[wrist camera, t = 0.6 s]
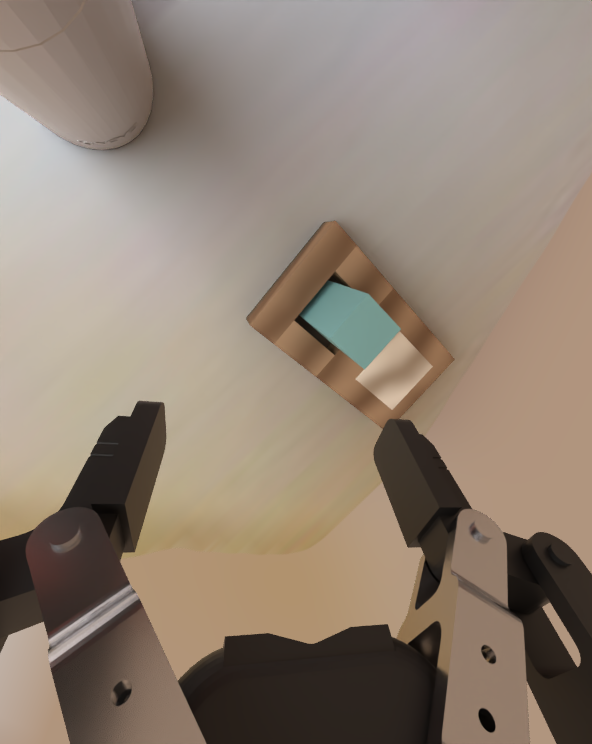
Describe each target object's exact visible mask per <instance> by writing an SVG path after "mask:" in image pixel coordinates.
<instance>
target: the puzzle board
mask: <svg viewBox="0 0 592 744" xmlns="http://www.w3.org/2000/svg"><path fill="white" fill-rule="evenodd" d="M328 280H329V281H332V282H335V283H338V284H341V285H343V286H346V287H349V288H352V289H355V290H358V291H361V292H364V293H367V294H369V295H370V296H371V297H372V298H373V299H374V300H375V301H376V302H377V304H378V305H379V306H380V307H381V308H382V309H383V310H384V311H385V312H386V313H387V314H388V315H389V316H390V318H391V319H392V320H393V321H394V322H395V323H396V324H397V325H398V326H399V327H400V328H401V330H400V331H399V332H398V333H397V334H396V335H395V337H394V338H393V339H392V340H391V341H390V342H389V343H388V344H387V345H386V347H385V348H384V349H383V350H382V351H381V352H380V353H379V354H378V355H377V357H376V358H375V359H374V360H373V361H372V362H371V363H370V364H369V366H368V367H367V368H366V369H365V370H364V369H363V368H362V367H361V366H359V365H358V364H357V363H356V362H354V361H353V360H352V359H351V358H349V357H348V356H347V355H346V354H344V353H343V352H342V351H341V350H339V349H338V348H337V347H336V346H334V345H333V344H332V343H331V342H329V341H328V340H327V339H326V338H325V337H323V336H322V335H321V334H320V333H319V332H318V331H317V330H316V329H314V328H313V327H312V326H311V325H310V324H309V323H308V322H306V321H305V320H304V319H303V318H302V317H301V316H300V315H299V314H300V313H301V312H302V310H303V309H304V308H305V307H306V306H307V304H308V303H309V302H310V301H311V300H312V298H313V297H314V296H315V295H316V294H317V292H318V291H319V290H320V289H321V288H322V287H323V285H324V284H325V283H326V282H327V281H328ZM246 319H247V321H248V322H249V324H250V326H252V327H253V328H254V329H255V330H257V331H258V332H259V333H261V334H262V335H263V336H264V337H266V338H267V339H268V340H270V341H271V342H272V343H273V344H275V345H276V346H277V347H279V348H280V349H281V350H282V351H284V352H285V353H286V354H288V355H289V356H290V357H291V358H293V359H294V360H295V361H296V362H298V363H299V364H300V365H302V366H303V367H304V368H305V369H307V370H308V371H309V372H311V373H312V374H313V375H314V376H316V377H317V378H318V379H320V380H321V381H322V382H323V383H325V384H326V385H327V386H329V387H330V388H331V389H332V390H334V391H335V392H336V393H338V394H339V395H340V396H341V397H343V398H344V399H345V400H347V401H348V402H349V403H350V404H352V405H353V406H354V407H356V408H357V409H358V410H359V411H361V412H362V413H363V414H365V415H366V416H367V417H368V418H370V419H371V420H372V421H374V422H375V423H376V424H377V425H379V426H380V427H381V428H384V426H385V424H386V422H387V421H388V420H389V419H399V418H400V417H401V416H402V415H403V414H404V413H405V412H406V411H407V410H408V409H409V407H410V406H411V405H412V404H413V403H414V402H415V401H416V400H417V399H418V398H419V397H420V396H421V395H422V394H423V393H424V392H425V390H426V389H427V388H428V387H429V386H430V385H431V384H432V383H433V382H434V381H435V380H436V379H437V378H438V377H439V376H440V375H441V373H442V372H443V371H444V370H445V369H446V368H447V367H448V366H449V365H450V364H451V363H452V362H453V361H454V360H455V359H454V358H453V357H452V356H451V354H450V353H449V352H448V351H447V350H446V349H445V347H444V346H443V345H442V344H441V343H440V342H439V340H438V339H437V338H436V337H435V336H434V335H433V333H432V332H431V331H430V330H429V329H428V328H427V327H426V325H425V324H424V323H423V322H422V321H421V320H420V318H419V317H418V316H417V315H416V314H415V313H414V311H413V310H412V309H411V308H410V307H409V306H408V304H407V303H406V302H405V301H404V300H403V299H402V297H401V296H400V295H399V294H398V293H397V292H396V290H395V289H394V288H393V287H392V286H391V285H390V284H389V282H388V281H387V280H386V279H385V278H384V277H383V275H382V274H381V273H380V272H379V271H378V270H377V268H376V267H375V266H374V265H373V264H372V263H371V261H370V260H369V259H368V258H367V257H366V256H365V254H364V253H363V252H362V251H361V250H360V249H359V247H358V246H357V245H356V244H355V243H354V242H353V241H352V239H351V238H350V237H349V236H348V235H347V234H346V232H345V231H344V230H343V229H342V228H341V227H340V225H339V224H338V223H337V222H336V221H332V222H324V223H323V224H322V225H321V227H320V228H319V229H318V230H317V231H316V233H315V234H314V235H313V236H312V238H311V239H310V240H309V241H308V243H307V244H306V245H305V246H304V247H303V249H302V250H301V251H300V252H299V254H298V255H297V256H296V257H295V259H294V260H293V261H292V262H291V263H290V265H289V266H288V267H287V268H286V270H285V271H284V272H283V273H282V275H281V276H280V277H279V278H278V279H277V281H276V282H275V283H274V284H273V286H272V287H271V288H270V289H269V291H268V292H267V293H266V294H265V295H264V297H263V298H262V299H261V300H260V302H259V303H258V304H257V305H256V307H255V308H254V309H253V310H252V311H251V313H250V314H249V315H248V316H247V318H246Z"/></svg>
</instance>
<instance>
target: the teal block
mask: <svg viewBox="0 0 592 744" xmlns="http://www.w3.org/2000/svg"><path fill="white" fill-rule="evenodd" d="M299 315H300V316H301V317H302V318H303V319H304V320H305V321H306V322H308V323H309V324H310V325H311V326H312V327H313V328H314V329H316V330H317V331H318V332H319V333H320V334H321V335H322V336H323V337H325V338H326V339H327V340H328V341H329V342H331V343H332V344H333V345H334V346H336V347H337V348H338V349H339V350H341V351H342V352H343V353H344V354H346V355H347V356H348V357H349V358H351V359H352V360H353V361H354V362H356V363H357V364H358V365H359V366H361V367H362V368H363V369H364V370H365V369H366V368H367V367H368V366H369V364H370V363H371V362H372V361H373V360H374V359H375V358H376V357H377V355H378V354H379V353H380V352H381V351H382V350H383V349H384V348H385V347H386V345H387V344H388V343H389V342H390V341H391V340H392V339H393V338H394V337H395V335H396V334H397V333H398V332H399V331H400V330H401V328H400V327H399V326H398V325H397V324H396V323H395V322H394V321H393V320H392V319H391V318H390V316H389V315H388V314H387V313H386V312H385V311H384V310H383V309H382V308H381V307H380V306H379V305H378V304H377V302H376V301H375V300H374V299H373V298H372V297H371V296H370V295H369V294H367V293H364V292H361V291H358V290H355V289H352V288H349V287H346V286H343V285H341V284H338V283H335V282H332V281H329V280H328V281H327V282H326V283H325V284H324V285H323V287H322V288H321V289H320V290H319V291H318V292H317V294H316V295H315V296H314V297H313V298H312V300H311V301H310V302H309V303H308V304H307V306H306V307H305V308H304V309H303V310H302V312H301V313H300V314H299Z"/></svg>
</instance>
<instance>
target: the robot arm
mask: <svg viewBox="0 0 592 744" xmlns="http://www.w3.org/2000/svg"><path fill="white" fill-rule="evenodd" d="M0 95H1V96H3V97H4V98H6V99H7V100H8V101H10V102H11V103H13V104H14V105H15V106H17V107H18V108H20V109H21V110H22V111H24V112H25V113H26V114H28V115H29V116H31V117H32V118H34V119H35V120H36V121H38V122H39V123H41V124H42V125H44V126H45V127H46V128H48V129H49V130H51V131H52V132H53V133H55V134H56V135H58V136H59V137H61V138H63V139H65V140H67V141H69V142H71V143H73V144H75V145H79V146H82V147H86V148H89V149H100V150H106V149H113V148H118V147H120V146H122V145H125V144H127V143H129V142H130V141H132V140H133V139H134V138H135V137H136V136H138V135H139V134H140V132H141V131H142V129H143V128H144V126H145V125H146V123H147V121H148V118H149V115H150V112H151V109H152V102H153V80H152V74H151V70H150V66H149V61H148V58H147V54H146V51H145V48H144V44H143V40H142V37H141V33H140V29H139V26H138V22H137V19H136V15H135V12H134V9H133V5H132V2H131V0H0ZM165 445H166V422H165V406H164V403H163V402H149V401H138V402H137V404H136V406H135V408H134V410H133V412H132V415H131V417H128V416H118V417H116V418H115V419H114V420H113V421H112V422H111V423H109V424H108V425H107V426H106V427H105V428H104V430H103V431H102V433H101V435H100V437H99V439H98V441H97V444H96V445H95V446H94V448H93V450H92V452H91V456H90V457H89V458H88V460H87V461H86V463H85V465H84V467H83V469H82V471H81V473H80V475H79V476H78V478H77V480H76V482H75V484H74V486H73V488H72V489H71V491H70V493H69V495H68V497H67V499H66V501H65V503H64V504H63V506H62V507H61V508H60V510H59V511H58V512H56V513H55V514H53V515H51V516H49V517H48V518H46V519H45V520H44V521H43V522H41V523H40V524H39V525H38V526H37V527H36V528H35V529H34V530H32V531H29V532H27V533H25V534H22V535H18V536H15V537H11V538H8V539H4V540H0V652H1V650H2V648H3V646H4V643H5V641H6V639H7V637H8V635H10V634H12V633H15V632H18V631H20V630H23V629H25V628H28V627H31V626H33V625H36V624H38V623H41V622H44V624H45V628H46V631H47V635H48V639H49V646H50V647H49V649H48V656H49V662H50V667H51V672H52V675H53V679H54V683H55V687H56V691H57V695H58V698H59V702H60V706H61V710H62V714H63V718H64V722H65V725H66V729H67V733H68V737H69V741H70V744H530V737H529V718H528V700H527V682H528V684H529V686H530V689H531V691H532V693H533V695H534V697H535V699H536V701H537V703H538V705H539V708H540V709H541V712H542V714H543V716H544V718H545V720H546V722H547V724H548V727H549V729H550V731H551V733H552V735H553V737H554V739H555V741H556V743H557V744H592V574H591V573H590V571H589V570H588V569H587V568H586V566H585V565H584V563H583V562H582V561H581V560H580V558H579V557H578V555H577V554H576V553H575V552H574V551H573V550H572V549H571V548H570V547H569V546H568V545H567V544H566V543H564V542H563V541H562V540H560V539H558V538H557V537H555V536H553V535H551V534H548V533H544V532H538V533H536V534H534V535H533V536H532V537H531V538H530V539H528V540H526V539H523V538H520V537H517V536H513V535H511V534H508V533H505V532H502V531H501V529H500V528H499V527H498V525H497V524H496V523H495V522H494V521H493V520H492V519H491V518H489V517H488V516H487V515H485V514H483V513H481V512H479V511H477V510H473V509H472V508H471V506H470V505H469V503H468V502H467V500H466V498H465V497H464V495H463V493H462V492H461V490H460V488H459V487H458V485H457V483H456V482H455V480H454V478H453V477H452V475H451V473H450V472H449V470H447V467H446V465H445V463H444V462H443V460H441V457H440V455H439V453H438V452H437V450H436V449H435V447H434V445H433V444H432V443H430V441H429V440H427V439H426V438H425V437H424V436H423V435H421V434H419V433H418V431H417V430H416V428H415V426H414V424H413V423H412V422H411V421H410V420H401V419H389V420H388V421H387V422H386V424H385V426H384V428H383V430H382V432H381V434H380V436H379V438H378V440H377V442H376V444H375V447H374V461H375V464H376V466H377V469H378V471H379V474H380V477H381V479H382V482H383V484H384V487H385V489H386V492H387V495H388V497H389V500H390V502H391V505H392V507H393V510H394V513H395V516H396V518H397V520H398V523H399V525H400V528H401V531H402V533H403V536H404V539H405V541H406V544H407V547H421V548H422V551H423V553H424V554H423V555H422V557H421V559H420V562H419V567H418V571H417V576H416V580H415V584H414V589H413V593H412V597H411V602H410V606H409V610H408V614H407V616H406V619H405V621H404V622H403V624H402V626H401V628H400V631H399V633H398V636H397V639H396V638H393V637H391V634H390V630H389V627H388V625H387V624H385V625H372V626H359V627H350V628H348V629H346V630H344V631H341V632H340V633H337V634H335V635H333V636H331V637H329V638H326V639H324V640H322V641H320V642H318V643H315V644H307V643H303V642H300V641H295V640H292V639H288V638H284V637H280V636H277V635H273V634H269V633H266V634H254V635H240V636H227V637H225V640H224V646H223V648H221V649H219V650H217V651H214V652H212V653H211V654H209V655H207V656H206V657H204V658H202V659H201V660H200V661H198V662H197V663H196V664H195V665H193V666H192V667H191V668H190V669H189V670H188V671H187V672H186V673H185V674H184V675H183V676H182V677H181V678H180V679H179V680H178V681H177V679H176V677H175V674H174V672H173V670H172V668H171V666H170V664H169V661H168V660H167V657H166V655H165V653H164V651H163V648H162V646H161V644H160V642H159V640H158V638H157V636H156V633H155V631H154V629H153V627H152V625H151V622H150V620H149V618H148V616H147V614H146V612H145V609H144V607H143V605H142V603H141V601H140V599H139V597H138V595H137V593H136V592H135V590H134V589H133V588H132V587H131V585H130V583H129V581H128V578H127V576H126V574H125V572H124V570H123V568H122V565H121V563H120V560H121V557H122V554H123V552H135V549H136V546H137V543H138V539H139V536H140V532H141V529H142V526H143V522H144V519H145V515H146V512H147V509H148V505H149V502H150V498H151V495H152V492H153V488H154V485H155V481H156V478H157V475H158V471H159V468H160V465H161V461H162V458H163V454H164V450H165ZM549 602H550V603H551V604H552V606H553V608H554V609H555V611H556V613H557V614H558V616H559V617H560V619H561V621H562V622H563V624H564V626H565V627H566V629H567V631H568V632H569V634H570V635H571V637H572V639H573V640H574V642H575V644H576V646H577V647H578V650H579V653H580V657H581V663H580V666H579V667H577V666H576V665H575V663H574V661H573V660H572V658H571V656H570V655H569V653H568V651H567V649H566V648H565V646H564V644H563V642H562V641H561V639H560V638H559V636H558V634H557V632H556V631H555V629H554V627H553V626H552V624H551V622H550V620H549V618H548V617H547V615H546V613H545V612H544V610H543V608H542V607H543V606H544V605H546V604H548V603H549ZM526 680H527V681H526Z"/></svg>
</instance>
